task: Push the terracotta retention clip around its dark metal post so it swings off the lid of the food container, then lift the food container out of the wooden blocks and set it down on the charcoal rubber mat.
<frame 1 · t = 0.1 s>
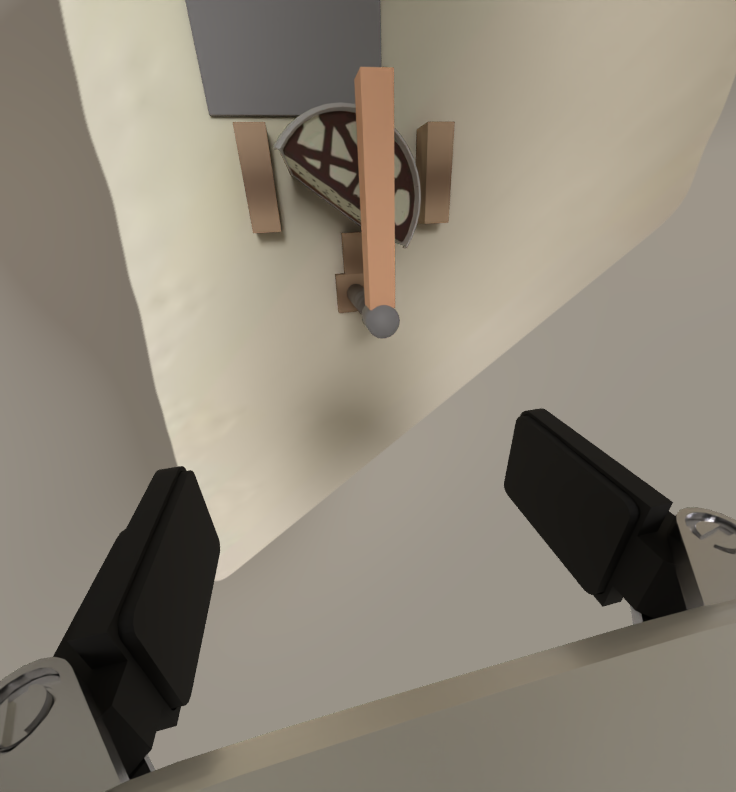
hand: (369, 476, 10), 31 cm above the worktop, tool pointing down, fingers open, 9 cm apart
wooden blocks: (347, 181, 33), on the worktop
food container: (348, 176, 33), on the worktop
mat: (290, 38, 27), on the worktop
clip: (377, 224, 24), point 12 cm above the worktop, hinge at 0.0°
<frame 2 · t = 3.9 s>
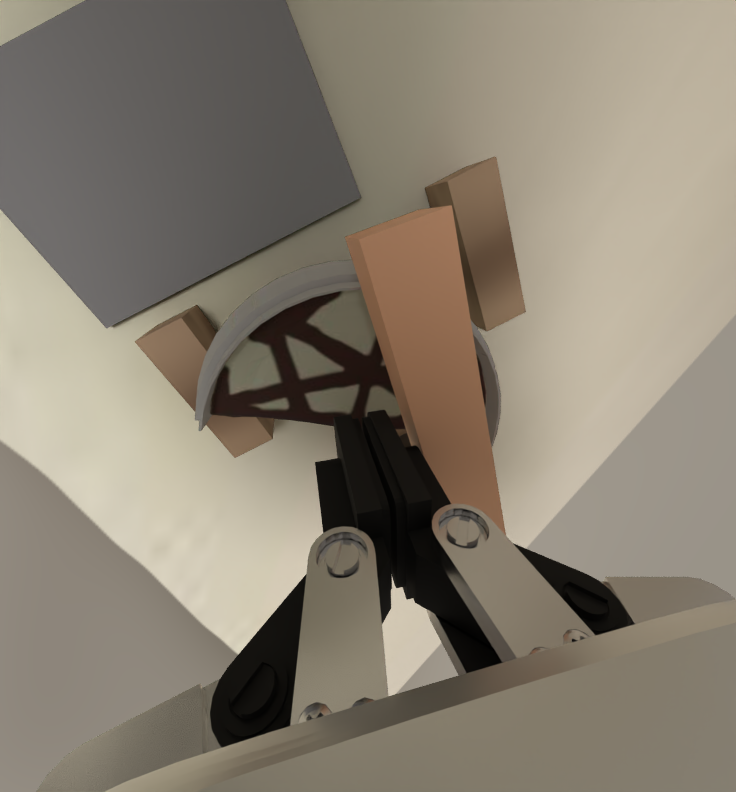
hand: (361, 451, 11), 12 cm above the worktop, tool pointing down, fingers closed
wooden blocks: (342, 312, 20), on the worktop
food container: (340, 304, 20), on the worktop
mat: (170, 157, 15), on the worktop
clip: (455, 476, 12), point 12 cm above the worktop, hinge at 6.3°, touching gripper
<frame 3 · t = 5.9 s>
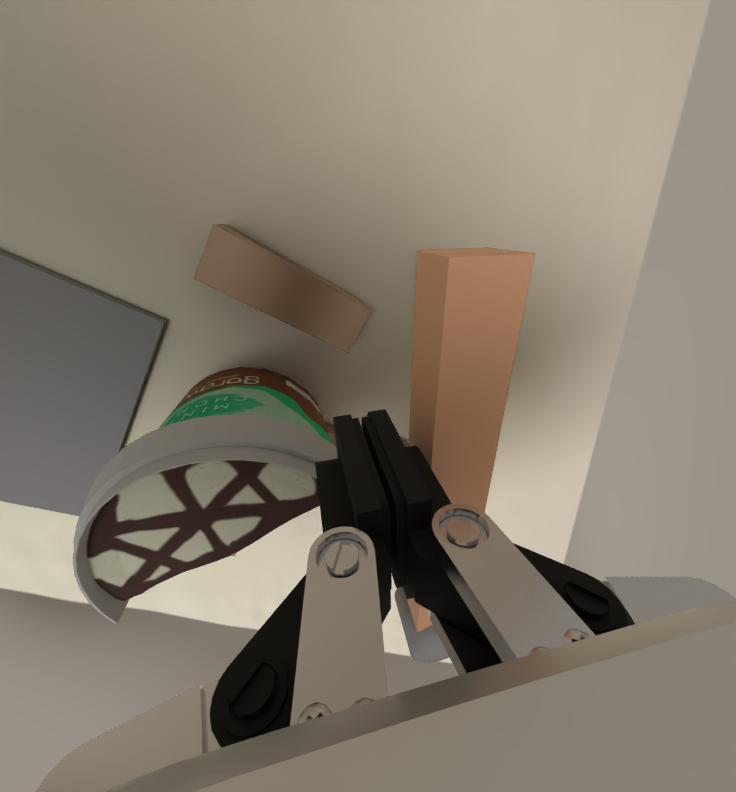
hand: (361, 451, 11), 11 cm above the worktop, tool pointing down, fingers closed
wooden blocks: (234, 404, 21), on the worktop
food container: (229, 398, 21), on the worktop
mat: (28, 397, 19), on the worktop
clip: (442, 502, 12), point 12 cm above the worktop, hinge at 58.4°, touching gripper
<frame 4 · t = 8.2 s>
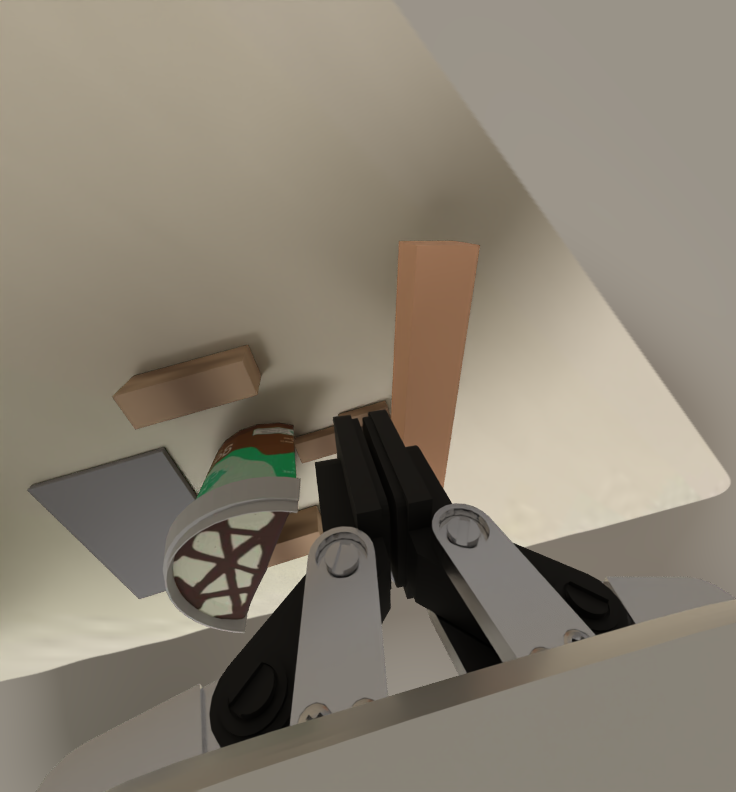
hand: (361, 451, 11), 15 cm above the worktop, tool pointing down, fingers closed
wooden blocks: (245, 462, 28), on the worktop
food container: (240, 460, 28), on the worktop
mat: (151, 529, 29), on the worktop
clip: (417, 445, 15), point 12 cm above the worktop, hinge at 102.8°
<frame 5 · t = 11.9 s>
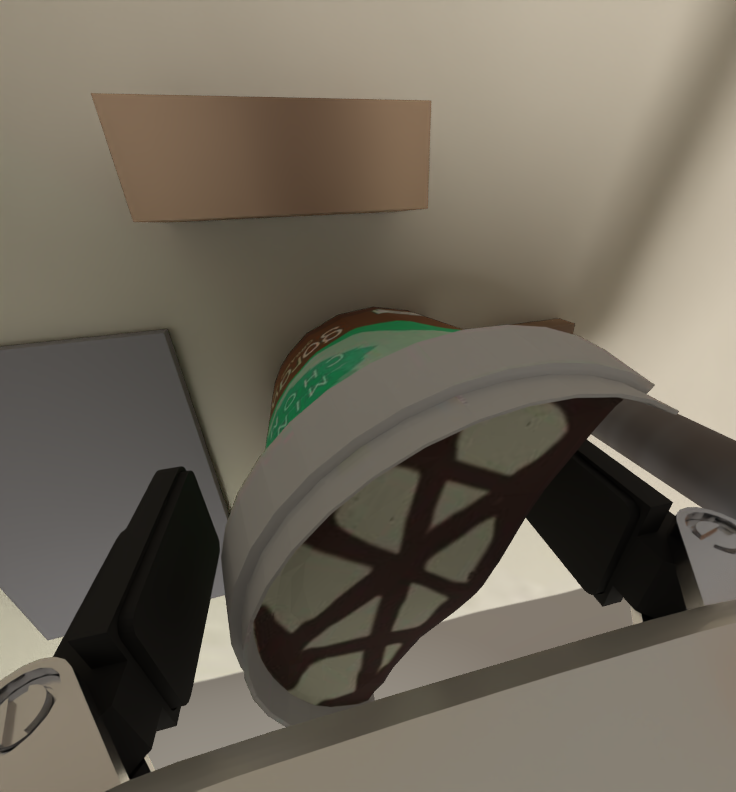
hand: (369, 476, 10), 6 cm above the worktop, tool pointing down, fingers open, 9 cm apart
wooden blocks: (312, 392, 15), on the worktop
food container: (320, 381, 15), on the worktop
mat: (100, 504, 15), on the worktop
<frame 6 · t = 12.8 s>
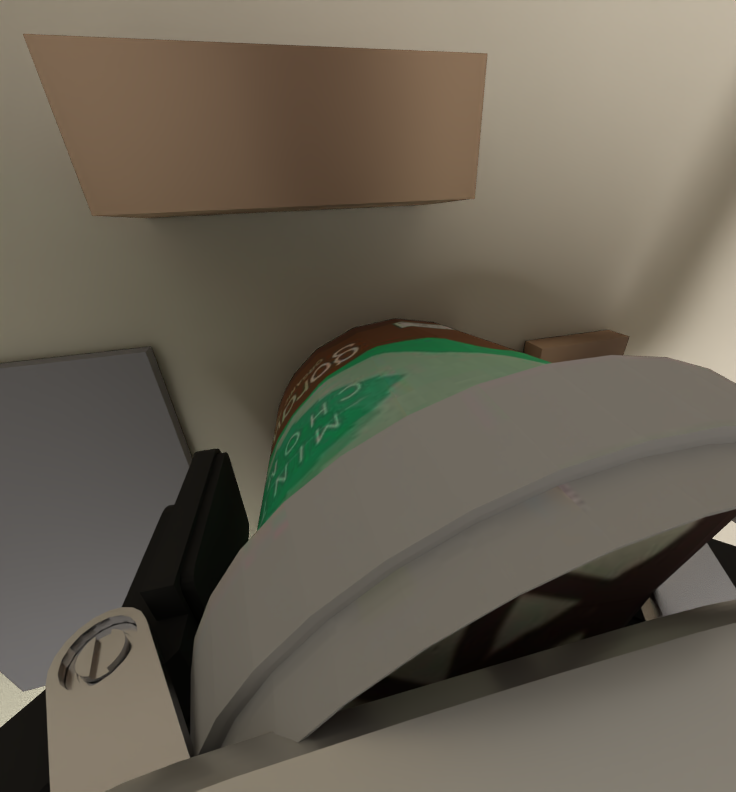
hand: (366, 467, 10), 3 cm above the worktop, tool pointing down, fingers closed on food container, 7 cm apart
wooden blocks: (323, 416, 13), on the worktop
food container: (331, 404, 13), on the worktop, touching gripper
mat: (78, 545, 13), on the worktop
when the fingers open (5 cm above the worktop, at t = 19.6 s): food container stays where it is, resting on mat.
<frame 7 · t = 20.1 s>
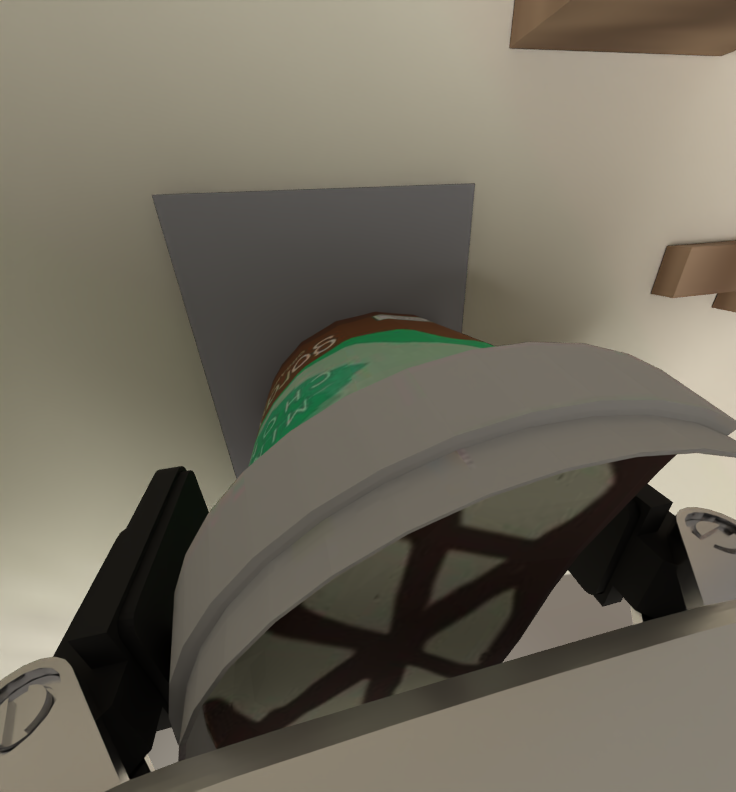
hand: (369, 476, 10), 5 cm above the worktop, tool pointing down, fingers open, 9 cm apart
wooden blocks: (570, 278, 14), on the worktop
food container: (318, 394, 14), resting on mat
mat: (343, 394, 14), on the worktop
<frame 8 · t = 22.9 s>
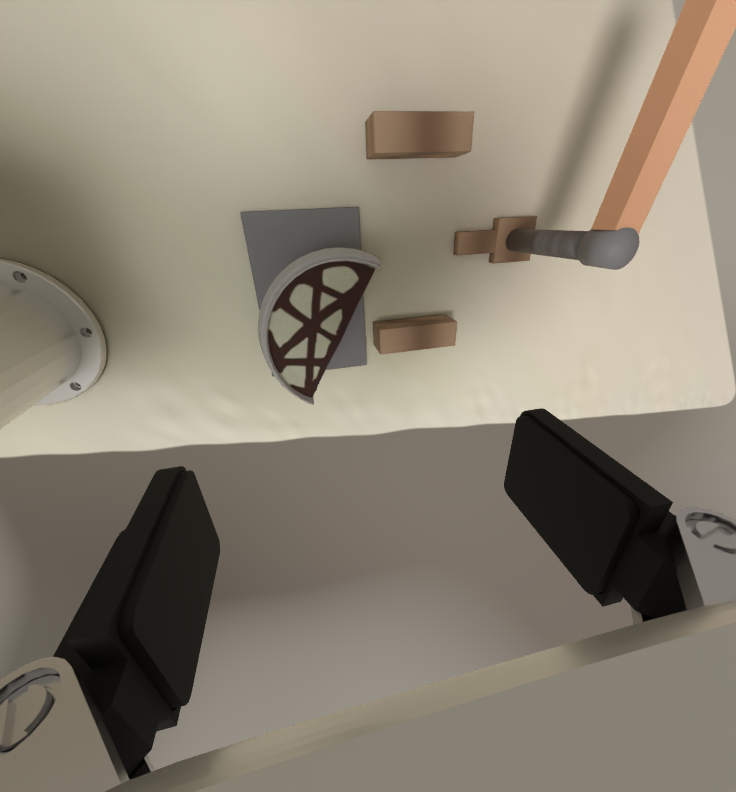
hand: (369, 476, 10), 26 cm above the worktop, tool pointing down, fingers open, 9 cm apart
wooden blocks: (410, 246, 32), on the worktop
food container: (300, 295, 32), resting on mat
mat: (311, 297, 33), on the worktop
clip: (659, 129, 21), point 12 cm above the worktop, hinge at 102.8°
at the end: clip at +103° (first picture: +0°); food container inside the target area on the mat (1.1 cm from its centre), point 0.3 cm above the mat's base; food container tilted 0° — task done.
